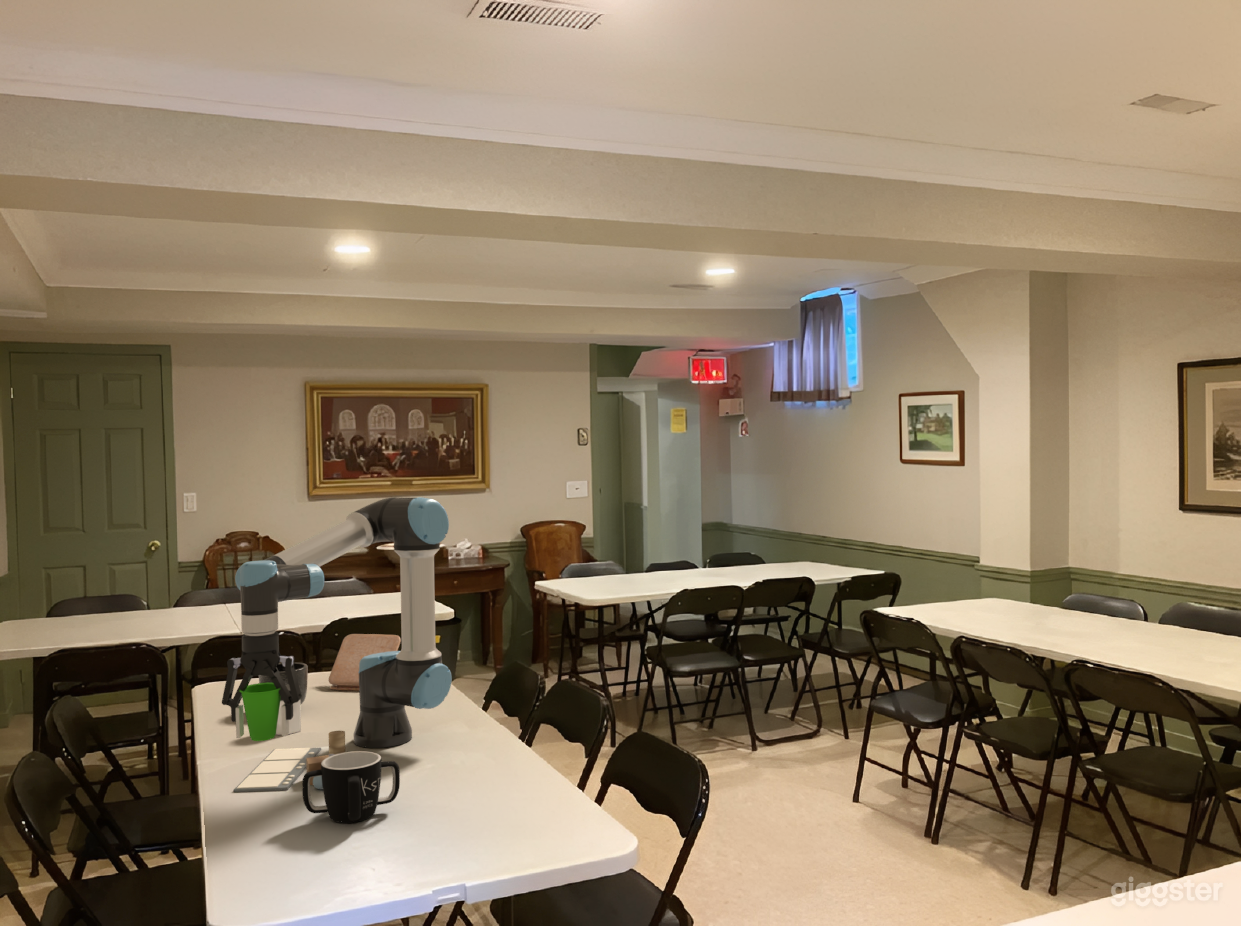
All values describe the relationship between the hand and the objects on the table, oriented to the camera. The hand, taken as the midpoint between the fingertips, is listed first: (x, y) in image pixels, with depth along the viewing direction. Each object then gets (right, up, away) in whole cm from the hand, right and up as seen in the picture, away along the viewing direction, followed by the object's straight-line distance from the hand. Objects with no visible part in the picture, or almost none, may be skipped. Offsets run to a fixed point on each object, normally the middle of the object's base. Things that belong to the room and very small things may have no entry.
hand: (263, 735), depth 210 cm
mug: (+22, -15, -8) cm, 28 cm away
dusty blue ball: (+10, -15, +10) cm, 20 cm away
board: (-5, -15, +24) cm, 29 cm away
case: (-6, -15, +112) cm, 113 cm away
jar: (-15, -15, +57) cm, 61 cm away
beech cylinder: (+6, -15, +33) cm, 37 cm away
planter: (-23, -15, +80) cm, 84 cm away
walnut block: (+7, -15, +15) cm, 23 cm away
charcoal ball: (+8, -15, +23) cm, 29 cm away
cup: (0, -1, 0) cm, 1 cm away
